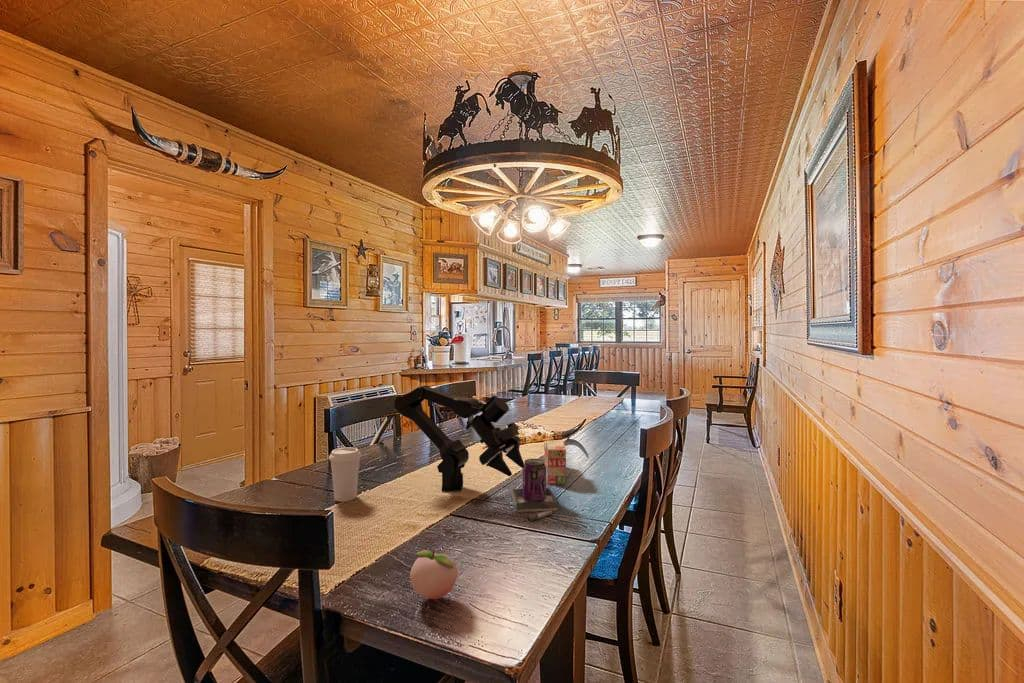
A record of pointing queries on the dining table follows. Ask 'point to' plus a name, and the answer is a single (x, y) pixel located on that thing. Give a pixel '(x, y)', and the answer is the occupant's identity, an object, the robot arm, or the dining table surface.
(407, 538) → the dining table surface
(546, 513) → the pin gauge
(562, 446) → the stack of blocks
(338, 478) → the coffee cup
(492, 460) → the robot arm
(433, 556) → the decorative fruit
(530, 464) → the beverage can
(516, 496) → the tray
